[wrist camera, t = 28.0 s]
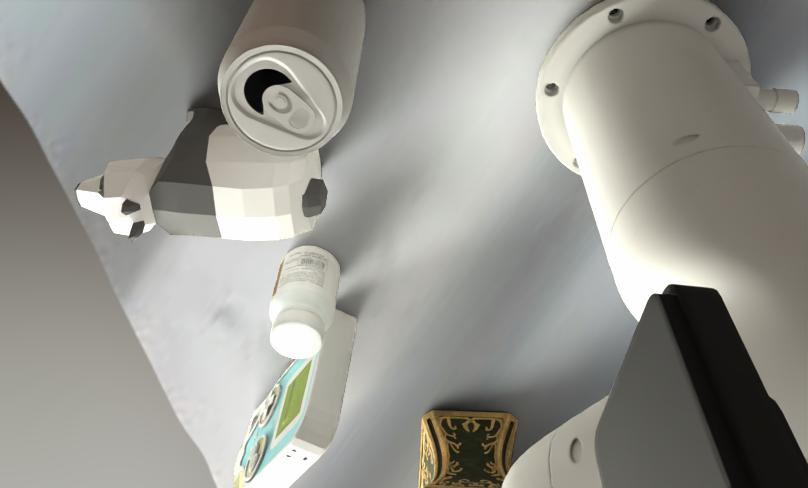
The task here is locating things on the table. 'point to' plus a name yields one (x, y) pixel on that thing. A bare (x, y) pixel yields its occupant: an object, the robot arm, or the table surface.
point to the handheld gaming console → (298, 413)
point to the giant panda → (210, 188)
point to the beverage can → (292, 73)
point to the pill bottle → (304, 301)
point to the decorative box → (466, 449)
